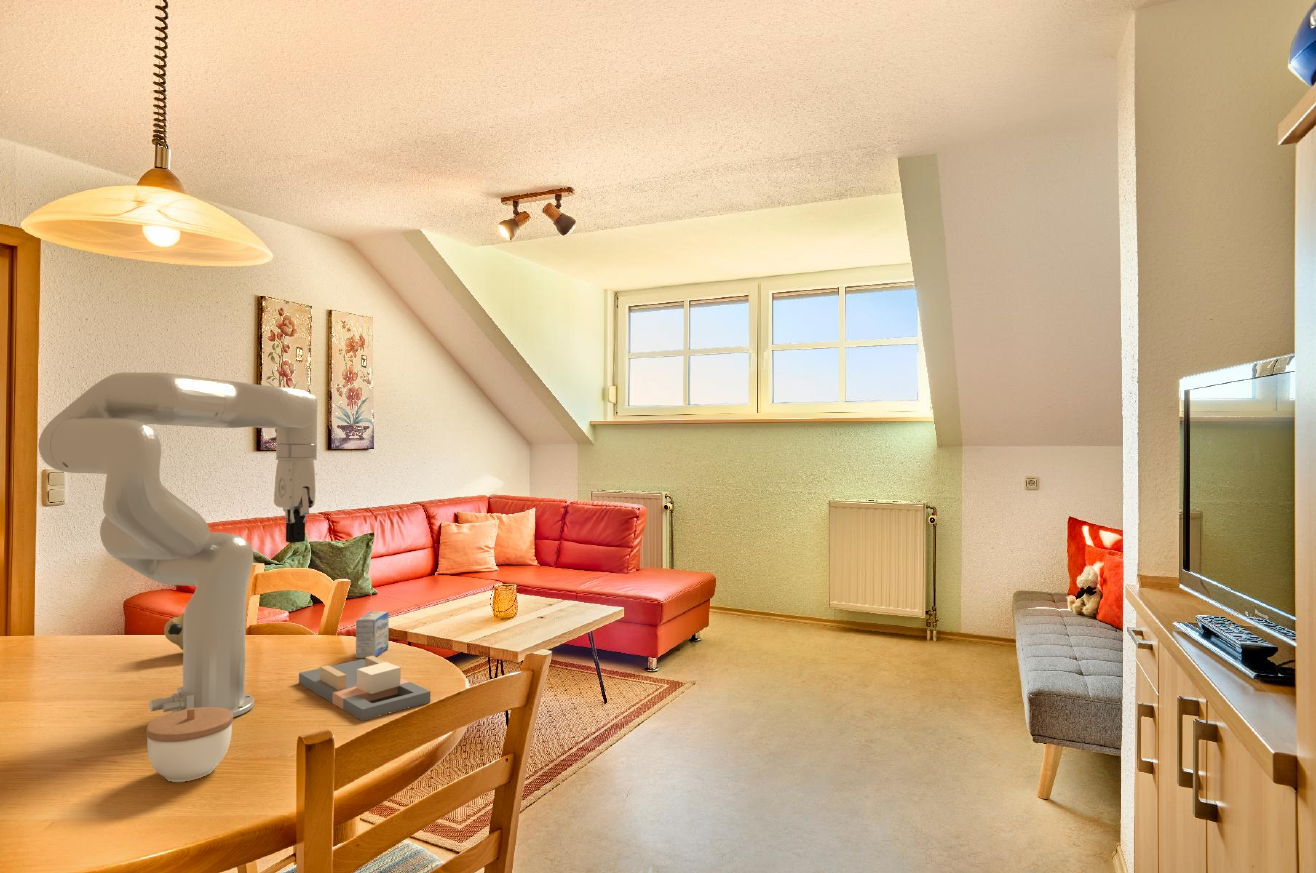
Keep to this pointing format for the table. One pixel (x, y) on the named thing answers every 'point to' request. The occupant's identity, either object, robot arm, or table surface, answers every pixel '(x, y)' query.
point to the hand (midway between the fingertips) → (295, 541)
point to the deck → (344, 693)
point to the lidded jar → (189, 742)
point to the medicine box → (372, 634)
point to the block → (378, 677)
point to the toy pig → (175, 630)
